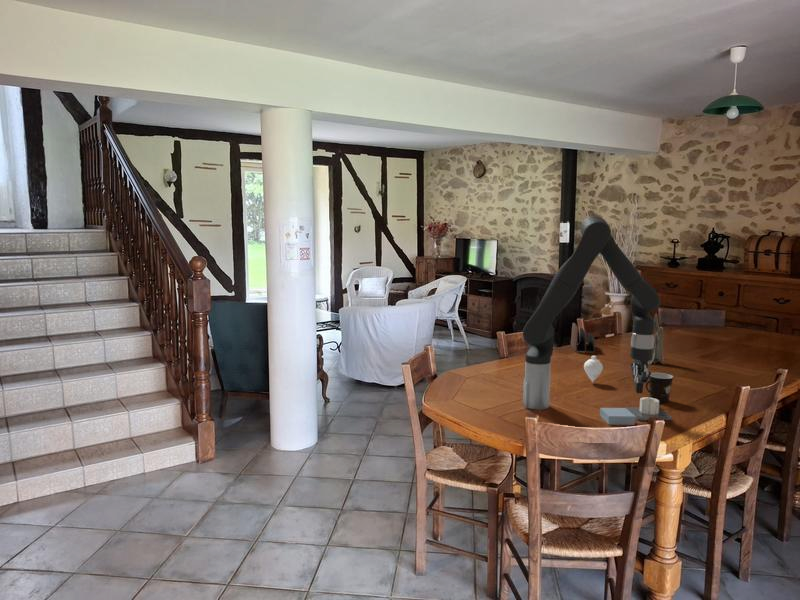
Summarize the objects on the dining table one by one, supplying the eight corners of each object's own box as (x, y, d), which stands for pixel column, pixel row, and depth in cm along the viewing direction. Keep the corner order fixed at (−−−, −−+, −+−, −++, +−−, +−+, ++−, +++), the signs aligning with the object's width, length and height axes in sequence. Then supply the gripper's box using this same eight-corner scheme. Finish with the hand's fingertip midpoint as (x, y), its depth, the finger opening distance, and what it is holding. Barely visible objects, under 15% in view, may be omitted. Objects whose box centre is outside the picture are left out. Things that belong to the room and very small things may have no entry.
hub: (637, 420, 199) (637, 406, 198) (626, 411, 208) (627, 397, 208) (671, 420, 198) (672, 406, 198) (659, 411, 208) (660, 398, 208)
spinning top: (589, 386, 241) (591, 358, 239) (579, 381, 248) (580, 354, 246) (605, 384, 243) (607, 357, 241) (594, 380, 250) (596, 353, 248)
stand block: (608, 424, 194) (608, 416, 194) (599, 415, 203) (600, 407, 203) (634, 424, 194) (635, 416, 194) (625, 416, 203) (625, 408, 203)
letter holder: (575, 353, 303) (576, 327, 301) (570, 345, 322) (571, 321, 321) (594, 353, 301) (596, 327, 300) (588, 346, 321) (589, 321, 319)
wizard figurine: (657, 366, 273) (661, 315, 270) (641, 363, 280) (644, 313, 277) (669, 363, 279) (673, 313, 276) (653, 360, 286) (656, 311, 283)
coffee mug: (664, 397, 225) (666, 372, 224) (675, 403, 217) (677, 378, 216) (635, 397, 225) (637, 372, 224) (645, 404, 217) (647, 378, 215)
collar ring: (653, 415, 199) (654, 403, 198) (637, 411, 203) (637, 399, 203) (660, 411, 203) (661, 400, 202) (644, 407, 207) (644, 396, 207)
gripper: (660, 350, 195) (657, 398, 198) (645, 341, 208) (641, 387, 211) (638, 349, 195) (635, 398, 198) (624, 341, 208) (621, 387, 211)
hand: (638, 392), depth 204 cm, fingers closed
